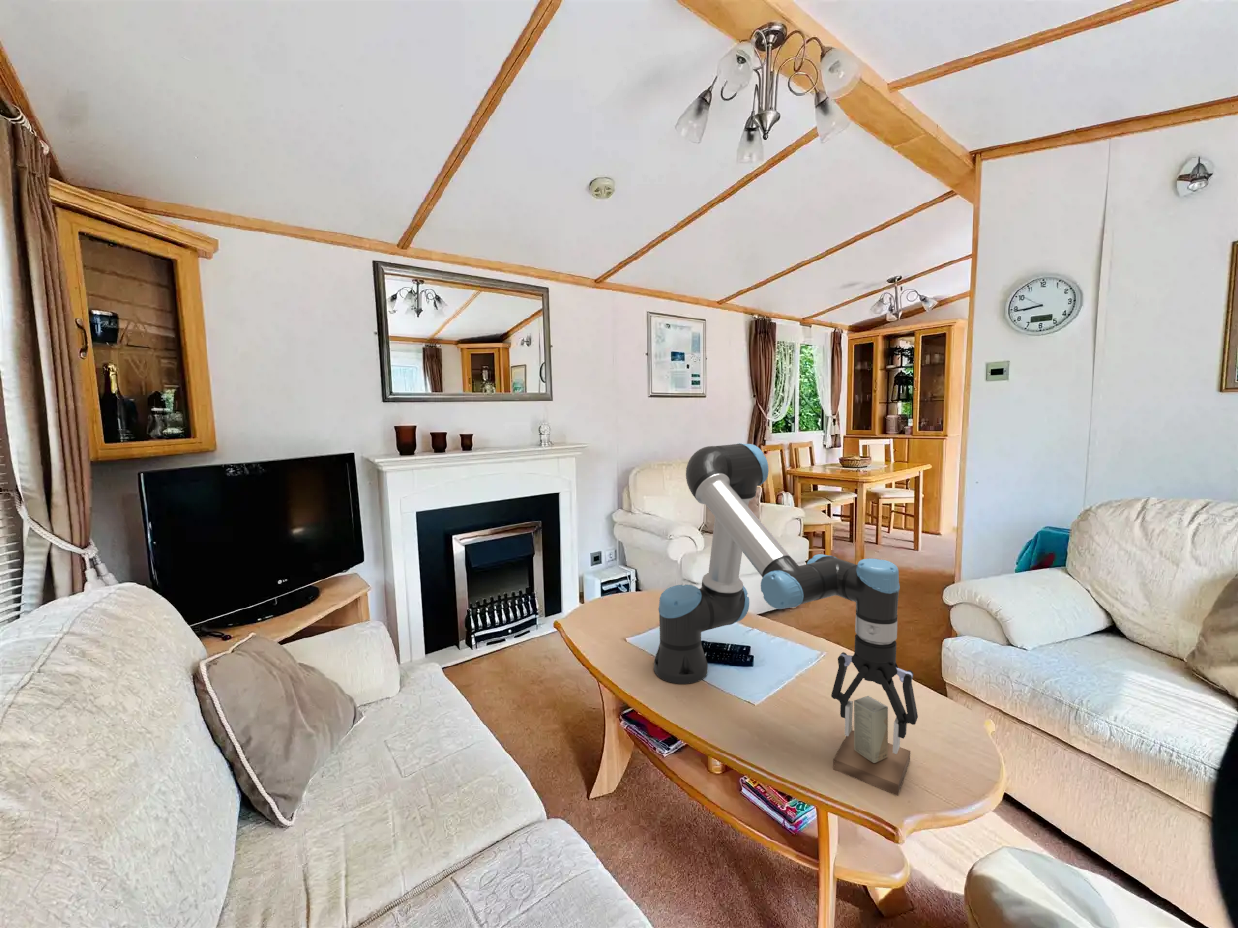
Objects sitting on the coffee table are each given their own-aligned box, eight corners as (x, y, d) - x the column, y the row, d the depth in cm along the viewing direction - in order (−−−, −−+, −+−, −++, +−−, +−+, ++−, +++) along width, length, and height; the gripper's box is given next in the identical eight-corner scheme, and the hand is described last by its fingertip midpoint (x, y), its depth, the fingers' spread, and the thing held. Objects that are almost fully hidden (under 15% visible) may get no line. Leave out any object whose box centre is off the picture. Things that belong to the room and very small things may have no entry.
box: (888, 757, 106) (890, 706, 105) (873, 764, 105) (874, 712, 103) (866, 742, 111) (867, 694, 110) (852, 748, 109) (853, 699, 108)
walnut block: (833, 772, 107) (833, 758, 107) (849, 741, 116) (849, 729, 116) (897, 798, 99) (898, 784, 99) (909, 763, 109) (910, 750, 108)
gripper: (815, 629, 108) (813, 730, 111) (933, 659, 95) (927, 773, 98) (827, 617, 114) (824, 713, 117) (939, 644, 101) (933, 751, 103)
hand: (871, 740), depth 107 cm, fingers open, 8 cm apart
